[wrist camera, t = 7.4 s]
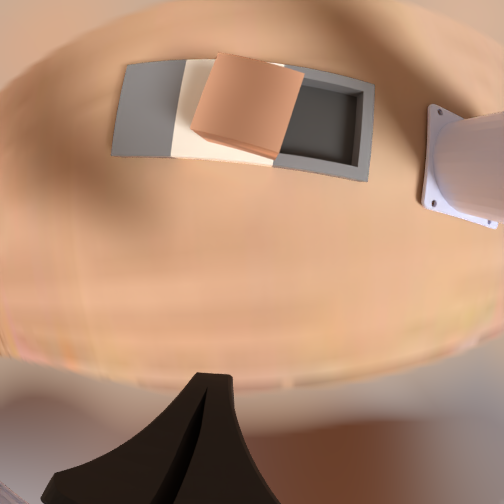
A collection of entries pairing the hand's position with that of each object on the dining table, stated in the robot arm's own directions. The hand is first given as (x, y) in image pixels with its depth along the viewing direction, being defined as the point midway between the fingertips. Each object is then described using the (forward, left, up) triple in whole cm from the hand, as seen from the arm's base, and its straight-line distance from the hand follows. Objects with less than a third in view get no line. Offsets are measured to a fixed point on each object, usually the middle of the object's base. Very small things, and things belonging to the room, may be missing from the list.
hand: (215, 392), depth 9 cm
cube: (0, -11, -8) cm, 14 cm away
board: (+1, -12, -9) cm, 15 cm away
